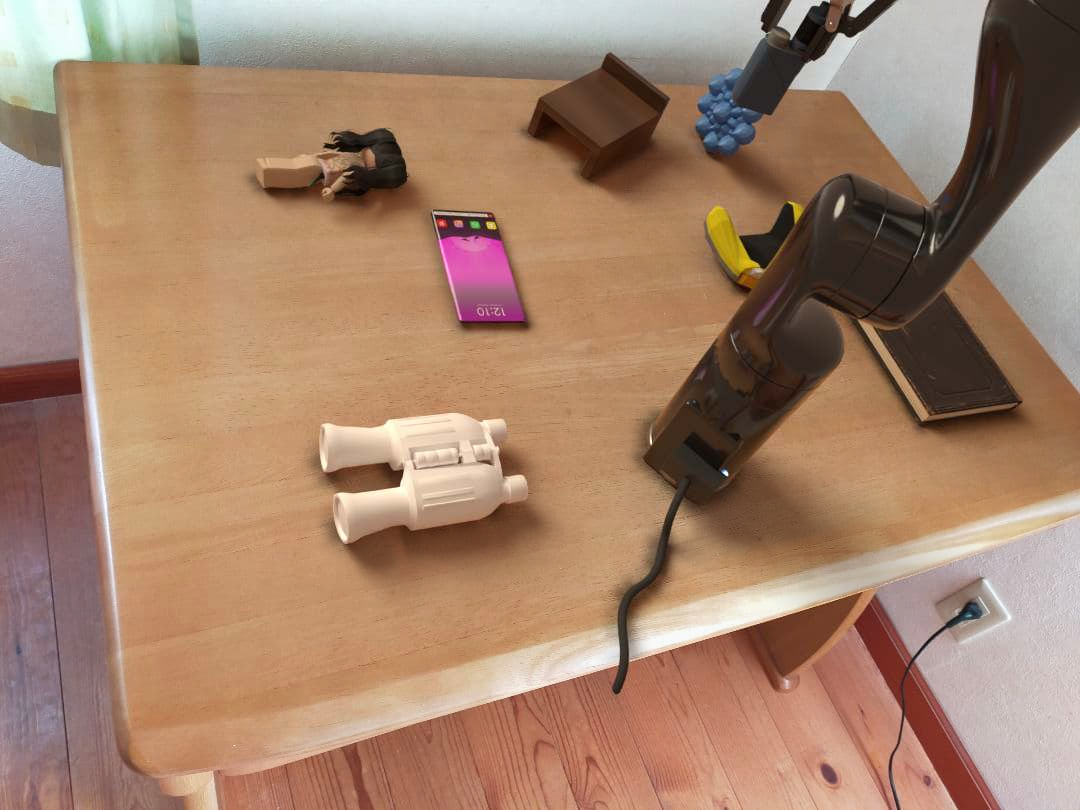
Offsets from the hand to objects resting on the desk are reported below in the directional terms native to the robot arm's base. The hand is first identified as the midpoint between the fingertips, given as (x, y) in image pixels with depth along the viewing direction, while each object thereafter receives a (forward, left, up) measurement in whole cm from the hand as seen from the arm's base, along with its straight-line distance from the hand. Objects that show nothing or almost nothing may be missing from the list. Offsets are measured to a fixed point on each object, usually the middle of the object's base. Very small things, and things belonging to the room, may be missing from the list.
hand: (787, 43), depth 86 cm
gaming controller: (+5, -9, -26) cm, 28 cm away
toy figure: (-30, +27, -26) cm, 48 cm away
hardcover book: (+13, -30, -26) cm, 42 cm away
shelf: (+4, +17, -26) cm, 31 cm away
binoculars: (-49, -4, -26) cm, 56 cm away
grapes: (+19, +6, -26) cm, 33 cm away
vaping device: (0, 0, -7) cm, 7 cm away
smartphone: (-26, +10, -26) cm, 38 cm away
